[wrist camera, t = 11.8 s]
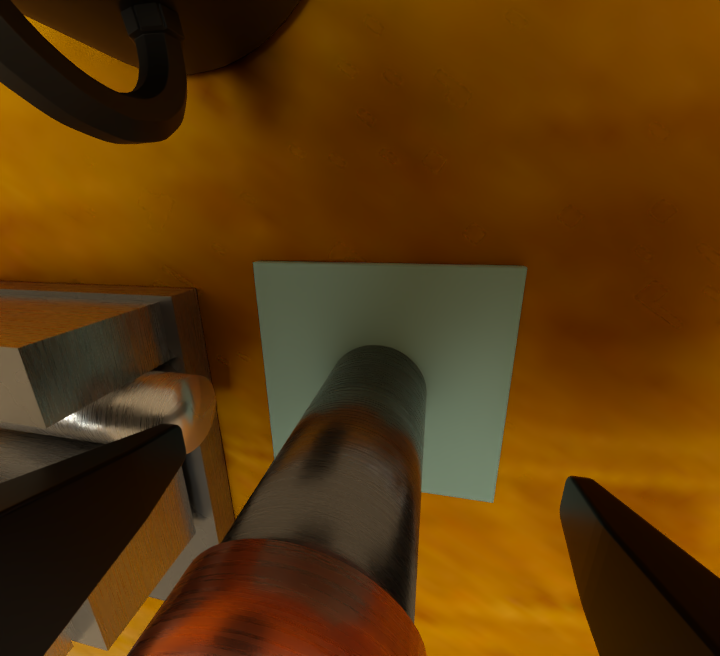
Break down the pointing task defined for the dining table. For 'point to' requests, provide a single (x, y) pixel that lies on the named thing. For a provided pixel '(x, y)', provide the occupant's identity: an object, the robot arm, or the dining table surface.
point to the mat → (408, 335)
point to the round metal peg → (318, 533)
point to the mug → (128, 57)
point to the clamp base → (117, 382)
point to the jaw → (135, 564)
